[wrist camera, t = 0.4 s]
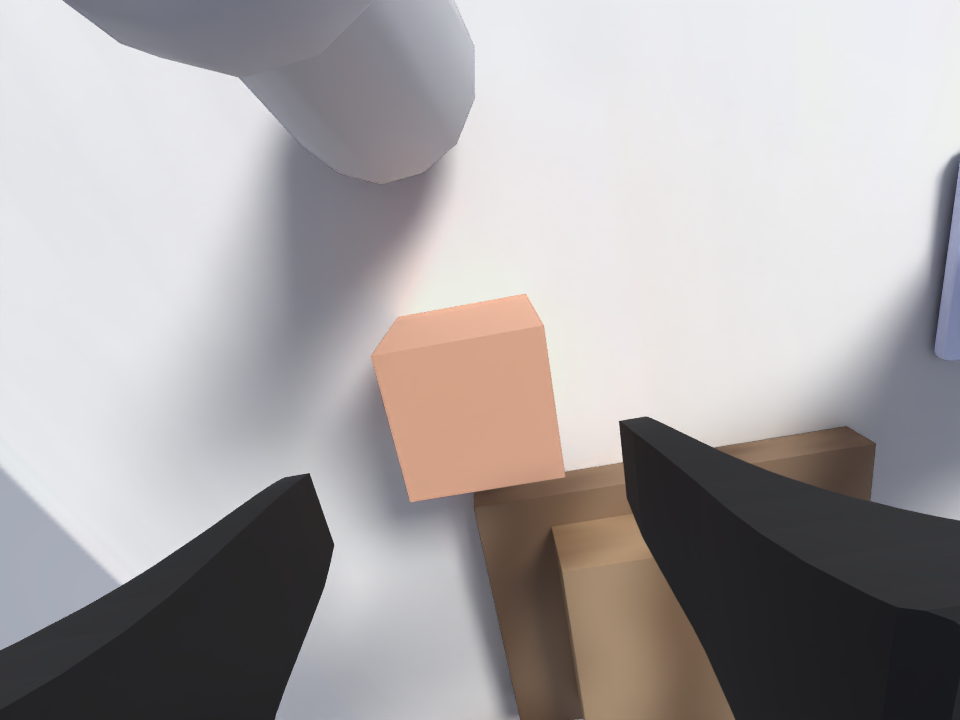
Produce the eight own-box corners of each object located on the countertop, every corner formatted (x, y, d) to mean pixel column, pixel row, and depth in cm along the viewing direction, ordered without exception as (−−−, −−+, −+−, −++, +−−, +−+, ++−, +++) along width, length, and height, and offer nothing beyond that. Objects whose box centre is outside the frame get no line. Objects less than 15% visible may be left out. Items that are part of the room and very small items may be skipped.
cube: (525, 293, 18) (543, 325, 13) (543, 410, 19) (565, 477, 15) (398, 316, 18) (370, 356, 13) (426, 430, 20) (410, 502, 15)
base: (846, 426, 20) (936, 479, 16) (829, 652, 24) (897, 738, 20) (473, 486, 20) (473, 551, 17) (519, 696, 24) (527, 786, 21)
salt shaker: (433, 214, 17) (317, 239, 4) (279, 140, 16) (-393, -85, 4) (504, 43, 15) (638, -683, 3) (337, -49, 14) (-542, -1675, 2)
